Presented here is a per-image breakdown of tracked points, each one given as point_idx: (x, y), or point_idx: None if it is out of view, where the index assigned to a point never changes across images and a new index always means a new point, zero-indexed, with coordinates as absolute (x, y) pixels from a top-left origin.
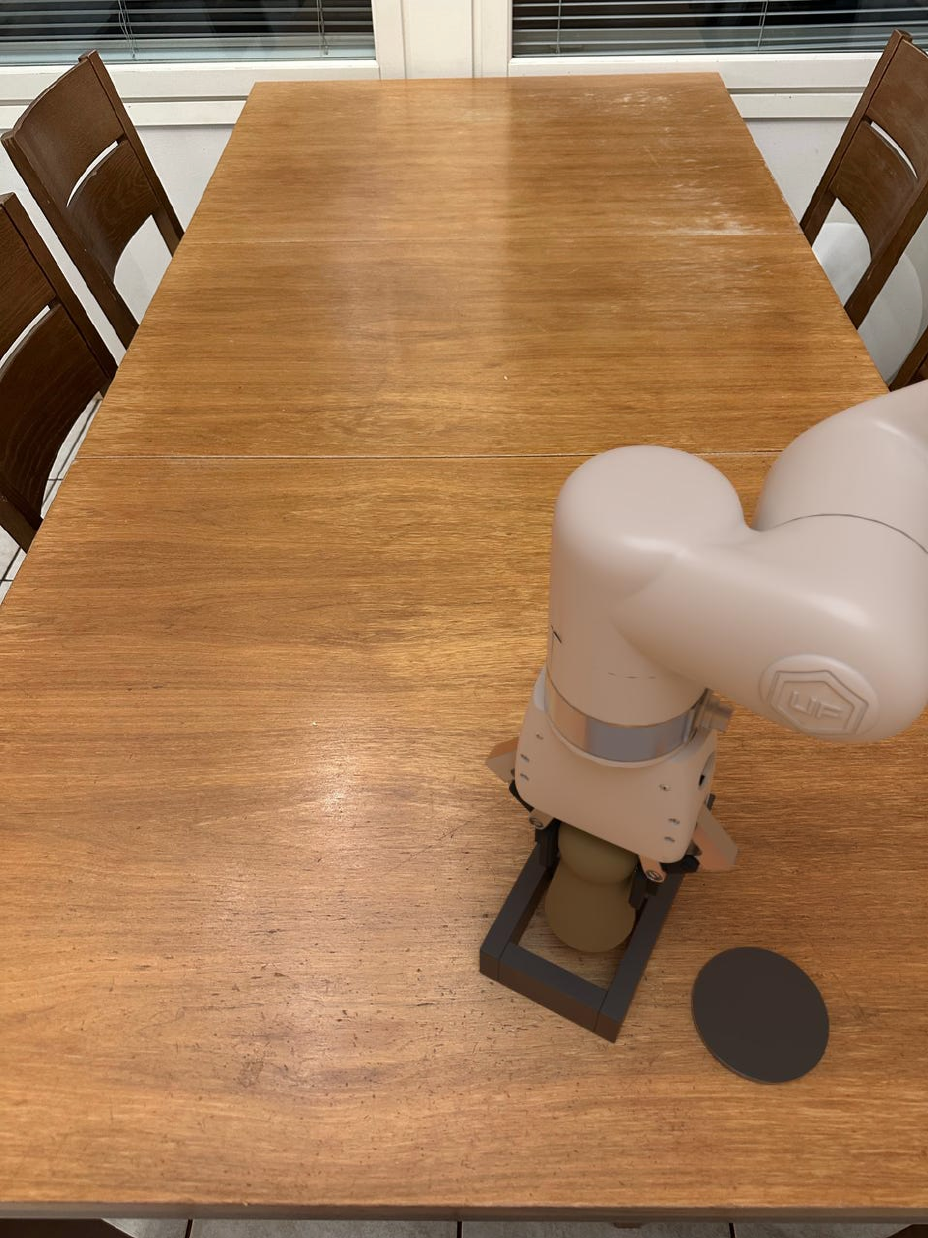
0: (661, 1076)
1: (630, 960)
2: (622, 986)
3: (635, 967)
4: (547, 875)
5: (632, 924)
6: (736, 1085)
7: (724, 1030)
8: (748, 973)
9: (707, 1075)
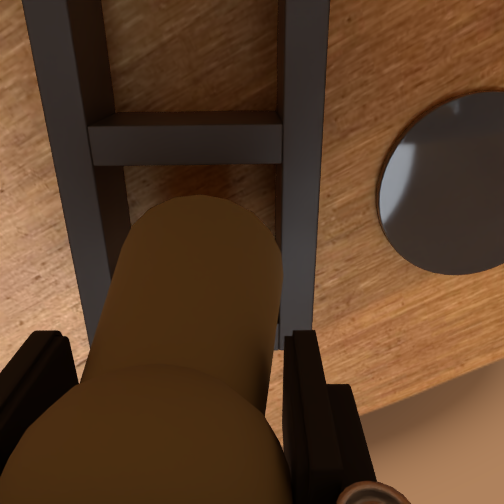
0: (364, 309)
1: (292, 272)
2: (295, 309)
3: (303, 278)
4: (108, 177)
5: (282, 273)
6: (450, 280)
7: (429, 237)
8: (450, 147)
9: (415, 285)
